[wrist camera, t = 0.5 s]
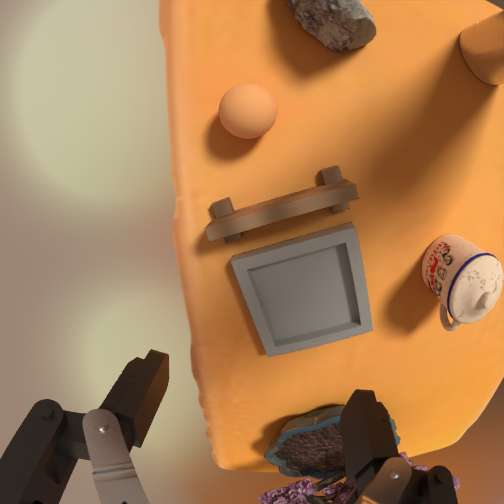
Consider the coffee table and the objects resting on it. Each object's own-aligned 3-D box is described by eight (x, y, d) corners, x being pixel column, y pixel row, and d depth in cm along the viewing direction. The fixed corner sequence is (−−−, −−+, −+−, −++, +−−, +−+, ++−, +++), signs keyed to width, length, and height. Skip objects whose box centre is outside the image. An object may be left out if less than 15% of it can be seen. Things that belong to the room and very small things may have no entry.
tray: (351, 222, 33) (355, 226, 31) (369, 322, 37) (372, 330, 35) (233, 255, 36) (230, 261, 34) (268, 347, 40) (267, 356, 38)
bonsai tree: (265, 464, 54) (252, 581, 23) (255, 396, 44) (230, 577, 14) (406, 448, 49) (429, 554, 19) (443, 374, 40) (503, 516, 10)
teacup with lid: (427, 227, 32) (476, 261, 21) (474, 234, 31) (524, 266, 21) (406, 308, 36) (439, 359, 25) (453, 308, 36) (489, 353, 25)
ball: (249, 80, 28) (242, 65, 23) (288, 113, 29) (290, 105, 24) (214, 117, 30) (200, 110, 25) (252, 150, 31) (246, 150, 26)
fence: (340, 164, 31) (350, 167, 26) (351, 205, 32) (362, 214, 28) (209, 203, 34) (198, 212, 29) (223, 241, 35) (215, 256, 31)
